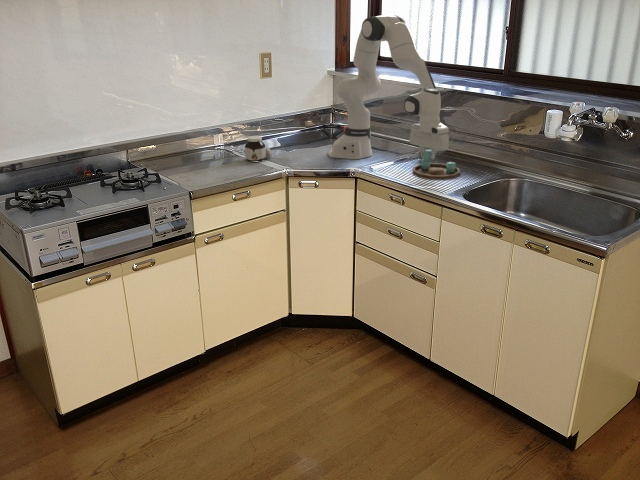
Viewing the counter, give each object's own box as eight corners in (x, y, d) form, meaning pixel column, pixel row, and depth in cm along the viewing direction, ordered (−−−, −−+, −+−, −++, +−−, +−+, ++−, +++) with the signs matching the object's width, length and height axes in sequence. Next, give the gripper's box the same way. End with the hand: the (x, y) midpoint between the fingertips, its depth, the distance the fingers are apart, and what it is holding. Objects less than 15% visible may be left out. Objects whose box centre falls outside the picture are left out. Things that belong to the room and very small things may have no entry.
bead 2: (425, 171, 287) (426, 161, 286) (419, 169, 290) (419, 159, 288) (431, 169, 290) (432, 160, 288) (425, 167, 292) (425, 158, 291)
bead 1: (434, 160, 278) (434, 151, 277) (427, 162, 276) (428, 152, 274) (427, 159, 281) (427, 149, 280) (421, 160, 279) (421, 150, 277)
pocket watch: (435, 165, 300) (437, 144, 296) (418, 164, 301) (419, 143, 297) (436, 160, 307) (437, 140, 303) (419, 159, 309) (420, 139, 305)
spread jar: (243, 161, 309) (241, 138, 304) (253, 156, 319) (252, 133, 314) (265, 163, 305) (264, 140, 300) (274, 158, 315) (273, 135, 310)
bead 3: (446, 173, 283) (447, 164, 281) (445, 171, 287) (446, 161, 285) (455, 174, 282) (456, 164, 281) (454, 171, 286) (455, 162, 284)
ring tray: (413, 180, 277) (413, 175, 276) (412, 167, 296) (412, 162, 295) (461, 181, 275) (461, 176, 274) (457, 168, 294) (457, 163, 293)
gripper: (407, 123, 279) (405, 154, 284) (442, 131, 264) (440, 162, 269) (416, 121, 282) (415, 151, 287) (452, 129, 267) (450, 160, 273)
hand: (427, 157), depth 278 cm, fingers closed on bead 1, 4 cm apart
